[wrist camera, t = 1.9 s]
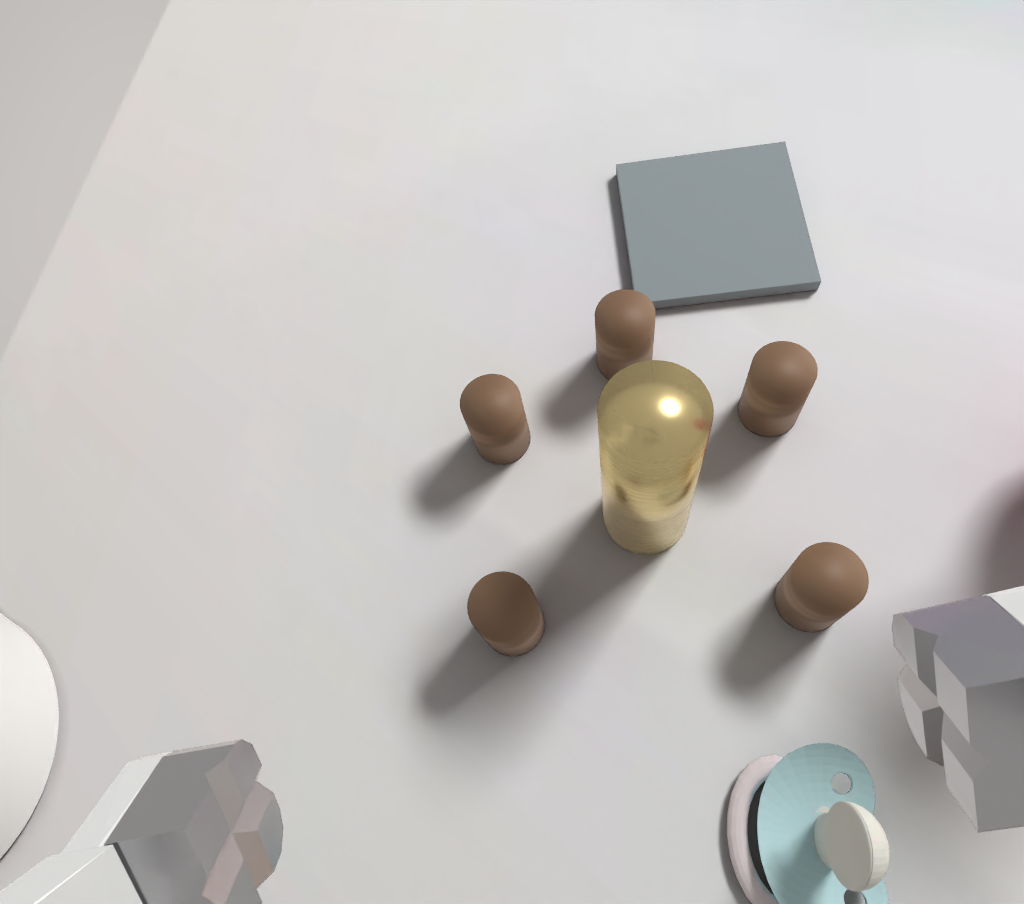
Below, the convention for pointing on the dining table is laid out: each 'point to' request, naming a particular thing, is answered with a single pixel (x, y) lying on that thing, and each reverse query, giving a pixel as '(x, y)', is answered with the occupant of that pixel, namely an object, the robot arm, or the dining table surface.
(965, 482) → the dining table surface
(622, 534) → the gold rounded cylinder
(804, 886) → the pacifier
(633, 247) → the mat
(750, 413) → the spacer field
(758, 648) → the dining table surface
